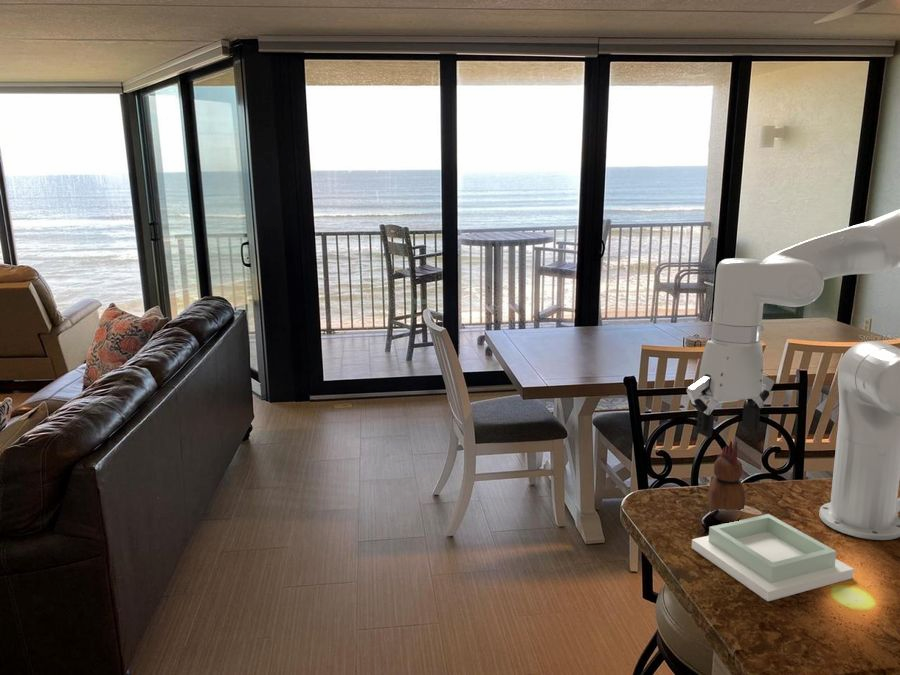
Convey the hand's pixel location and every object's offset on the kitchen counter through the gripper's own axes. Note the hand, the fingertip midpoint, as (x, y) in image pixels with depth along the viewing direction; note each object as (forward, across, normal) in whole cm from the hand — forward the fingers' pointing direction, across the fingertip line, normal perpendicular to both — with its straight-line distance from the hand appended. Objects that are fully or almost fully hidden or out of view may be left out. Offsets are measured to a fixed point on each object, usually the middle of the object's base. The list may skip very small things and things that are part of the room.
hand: (727, 431), depth 116 cm
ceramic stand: (+16, +3, +14) cm, 22 cm away
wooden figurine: (+16, -1, 0) cm, 16 cm away
